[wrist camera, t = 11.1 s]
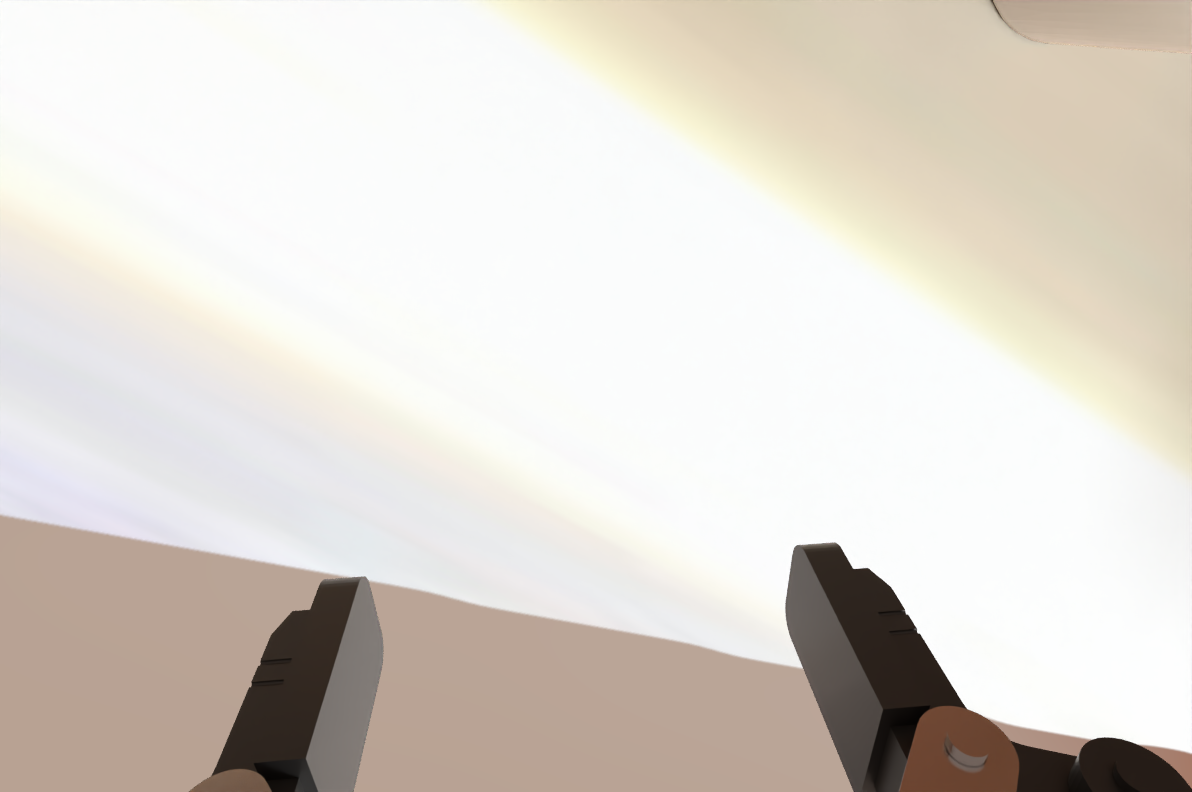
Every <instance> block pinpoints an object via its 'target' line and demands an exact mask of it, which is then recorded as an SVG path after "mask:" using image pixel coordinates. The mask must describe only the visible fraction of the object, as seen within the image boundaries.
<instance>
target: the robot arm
mask: <svg viewBox="0 0 1192 792" xmlns="http://www.w3.org/2000/svg"><path fill="white" fill-rule="evenodd" d="M993 1H994V4H995V6H996V8H997V10H998V11H999V13H1000V15H1001V17H1002V18H1003V20H1004V21H1005V22H1006V23H1007V24H1008V25H1009V26H1010V27H1011V28H1012V29H1013V30H1014V31H1015V32H1017V33H1018V34H1020V35H1022V36H1024V37H1026V38H1028V39H1030V40H1033V41H1038V42H1043V43H1047V44H1061V45H1076V46H1091V47H1100V48H1114V49H1130V50H1145V51H1160V52H1175V53H1190V54H1192V0H993ZM785 609H786V620H787V626H788V630H789V634H790V637H791V639H792V642H793V644H794V647H795V649H796V652H797V654H798V657H799V659H800V661H801V664H802V666H803V669H804V671H805V674H806V676H807V678H808V681H809V683H810V686H811V688H812V690H813V693H814V696H815V698H816V701H817V703H818V705H819V708H820V710H821V713H822V715H823V718H824V720H825V722H826V725H827V727H828V730H829V732H830V735H831V737H832V740H833V742H834V745H835V747H836V749H837V752H838V754H839V757H840V759H841V762H842V764H843V767H844V769H845V771H846V774H847V776H848V779H849V781H850V784H851V786H852V788H853V791H854V792H1192V789H1191V788H1190V786H1189V785H1188V784H1187V783H1186V781H1185V780H1184V779H1183V778H1182V776H1181V775H1180V774H1179V773H1178V772H1177V771H1176V770H1175V769H1174V768H1173V767H1172V766H1170V764H1168V763H1167V762H1166V761H1164V760H1163V759H1162V758H1160V757H1159V756H1157V755H1156V754H1154V753H1153V752H1151V751H1149V750H1147V749H1145V748H1143V747H1142V746H1139V745H1137V744H1134V743H1132V742H1129V741H1125V740H1122V739H1116V738H1105V737H1104V738H1097V739H1094V740H1091V741H1089V742H1087V743H1086V744H1085V745H1084V746H1083V747H1082V749H1081V751H1080V753H1079V755H1078V757H1077V756H1072V755H1067V754H1062V753H1058V752H1053V751H1048V750H1043V749H1038V748H1033V747H1029V746H1025V745H1021V744H1018V743H1015V742H1012V741H1010V740H1009V738H1008V737H1007V736H1006V735H1005V734H1004V732H1003V731H1001V729H999V728H998V727H997V726H996V725H995V724H993V723H992V722H991V721H990V720H988V719H987V718H985V717H983V716H982V715H980V714H978V713H975V712H973V711H971V710H968V709H967V708H966V707H965V706H964V704H963V703H962V701H961V700H960V698H959V696H958V695H957V693H956V691H955V690H954V688H953V687H952V685H951V683H950V682H949V680H948V679H947V677H946V675H945V674H944V672H943V670H942V669H941V667H940V666H939V664H938V662H937V661H936V659H935V658H934V656H933V654H932V653H931V651H930V649H929V648H928V646H927V645H926V643H925V641H924V640H923V638H922V636H921V635H920V634H918V633H917V628H916V627H915V625H914V624H913V622H912V620H911V619H910V617H909V615H906V613H905V609H904V607H903V606H902V604H901V603H900V601H899V599H898V598H897V596H896V594H895V593H894V591H893V590H892V588H891V587H890V586H889V585H888V584H887V583H885V582H884V581H883V580H882V579H881V578H879V577H878V576H877V575H876V574H874V573H873V572H872V571H871V570H870V569H868V568H863V569H853V568H852V566H851V564H850V563H849V561H848V559H847V557H846V556H845V554H844V552H843V550H842V549H841V547H840V546H839V545H838V544H837V543H822V544H808V545H797V546H796V547H795V548H794V551H793V555H792V562H791V569H790V576H789V583H788V590H787V597H786V607H785ZM382 663H383V638H382V632H381V629H380V624H379V621H378V616H377V612H376V608H375V604H374V600H373V596H372V592H371V588H370V584H369V581H368V579H367V578H366V577H352V578H338V579H325V580H323V581H322V582H321V583H320V585H319V588H318V590H317V593H316V596H315V598H314V601H313V604H312V606H311V609H310V610H302V611H292V613H291V614H290V615H289V616H288V617H287V618H286V619H285V620H284V621H283V622H282V624H281V625H280V626H279V627H278V628H277V629H276V630H275V631H274V632H273V633H272V635H271V637H270V639H269V641H268V644H267V646H266V649H265V651H264V654H263V656H262V658H261V665H260V666H258V668H257V670H256V673H255V675H254V677H253V680H252V686H251V687H250V688H249V689H248V692H247V694H246V697H245V699H244V701H243V704H242V706H241V708H240V711H239V713H238V716H237V718H236V720H235V723H234V725H233V727H232V730H231V732H230V735H229V737H228V739H227V742H226V744H225V747H224V749H223V751H222V754H221V756H220V759H219V761H218V764H217V766H216V768H215V770H214V772H213V774H212V776H211V777H209V778H207V779H206V780H204V781H202V782H201V783H199V784H198V785H197V786H195V787H194V788H193V789H191V790H190V791H189V792H354V787H355V783H356V778H357V774H358V770H359V765H360V761H361V756H362V752H363V748H364V743H365V739H366V735H367V731H368V726H369V722H370V718H371V713H372V709H373V705H374V700H375V696H376V692H377V687H378V683H379V678H380V674H381V670H382Z"/></svg>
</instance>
